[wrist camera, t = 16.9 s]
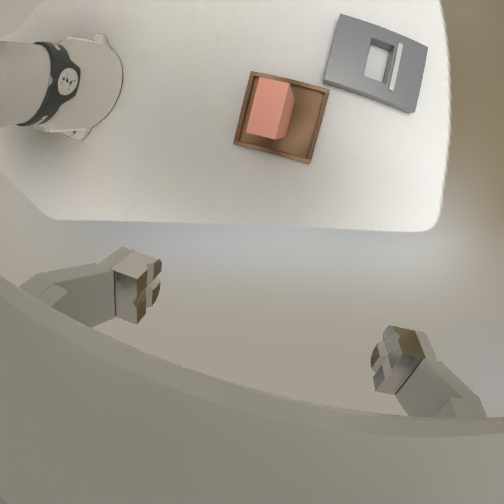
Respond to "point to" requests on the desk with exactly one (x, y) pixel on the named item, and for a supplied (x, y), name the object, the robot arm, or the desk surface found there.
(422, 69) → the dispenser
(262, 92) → the pink rectangular bar
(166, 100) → the desk surface
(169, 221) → the desk surface
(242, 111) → the tray
